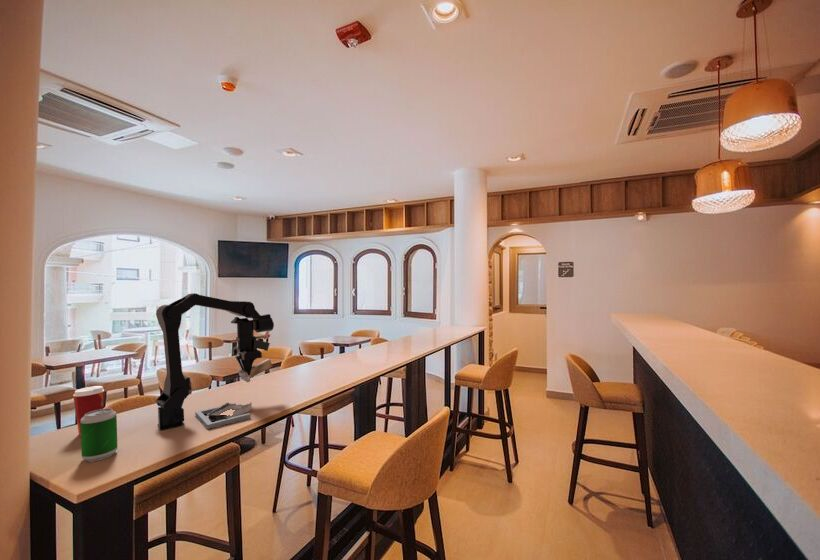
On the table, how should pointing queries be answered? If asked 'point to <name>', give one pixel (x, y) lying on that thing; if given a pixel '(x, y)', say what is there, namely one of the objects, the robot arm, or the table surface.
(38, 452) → the table surface
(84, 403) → the paper cup
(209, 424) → the tile frame
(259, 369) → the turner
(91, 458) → the soda can
